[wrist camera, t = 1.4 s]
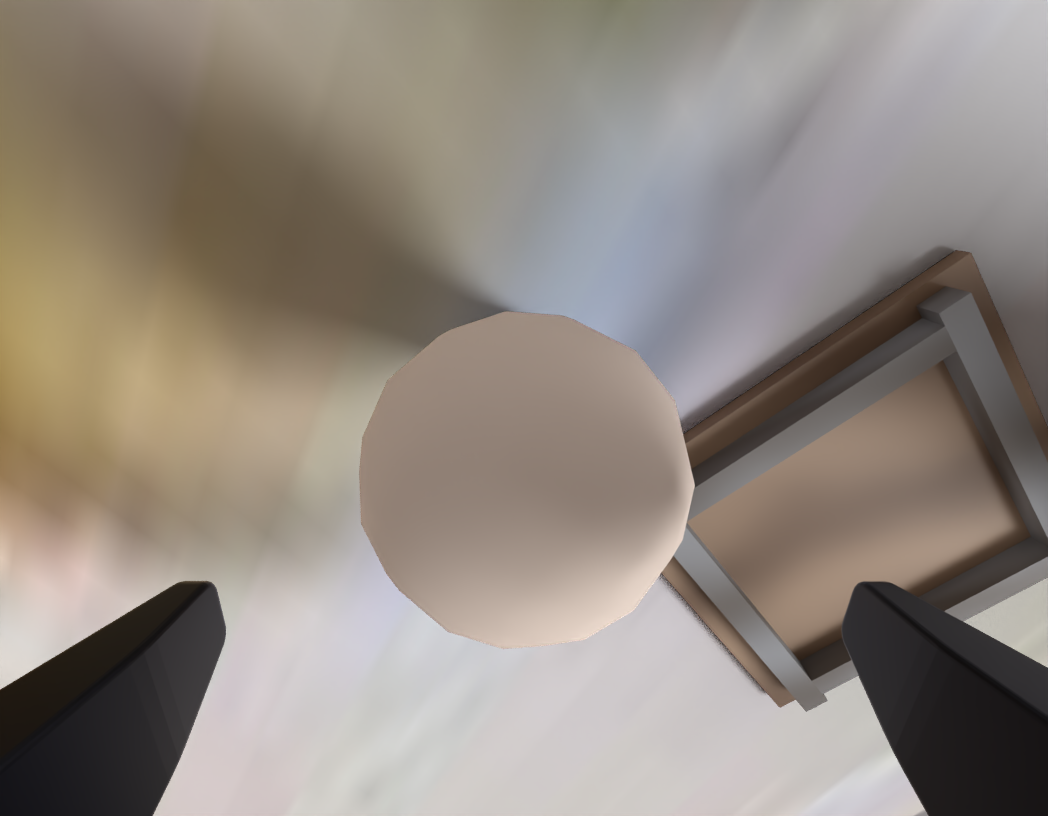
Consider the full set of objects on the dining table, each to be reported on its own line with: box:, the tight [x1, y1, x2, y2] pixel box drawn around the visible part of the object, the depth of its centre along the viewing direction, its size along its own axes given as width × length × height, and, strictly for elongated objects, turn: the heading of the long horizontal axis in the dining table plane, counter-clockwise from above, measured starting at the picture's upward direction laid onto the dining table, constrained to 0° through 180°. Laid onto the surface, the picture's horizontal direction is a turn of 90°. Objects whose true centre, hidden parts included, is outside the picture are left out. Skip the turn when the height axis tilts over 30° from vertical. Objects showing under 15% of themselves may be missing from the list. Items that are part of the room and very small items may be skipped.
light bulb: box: [359, 311, 695, 649], centre depth 13 cm, size 7×7×11 cm
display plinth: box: [661, 250, 1048, 712], centre depth 20 cm, size 14×14×2 cm
